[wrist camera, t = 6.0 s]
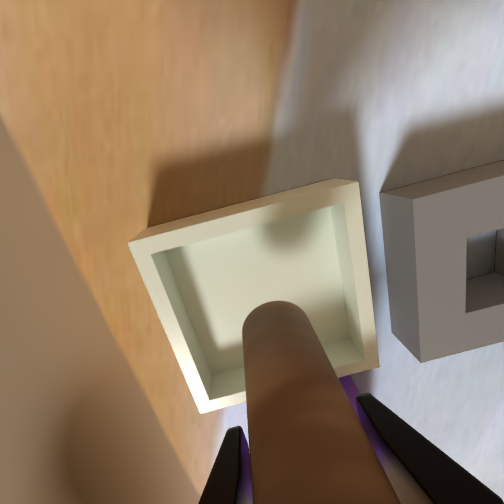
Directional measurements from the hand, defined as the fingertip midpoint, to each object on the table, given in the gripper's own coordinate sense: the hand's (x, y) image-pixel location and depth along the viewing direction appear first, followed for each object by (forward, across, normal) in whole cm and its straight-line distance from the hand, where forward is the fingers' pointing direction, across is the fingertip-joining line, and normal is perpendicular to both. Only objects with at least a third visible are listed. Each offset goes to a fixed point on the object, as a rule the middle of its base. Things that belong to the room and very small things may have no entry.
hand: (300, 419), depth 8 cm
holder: (+9, -13, +1) cm, 16 cm away
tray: (+9, 0, 0) cm, 9 cm away
